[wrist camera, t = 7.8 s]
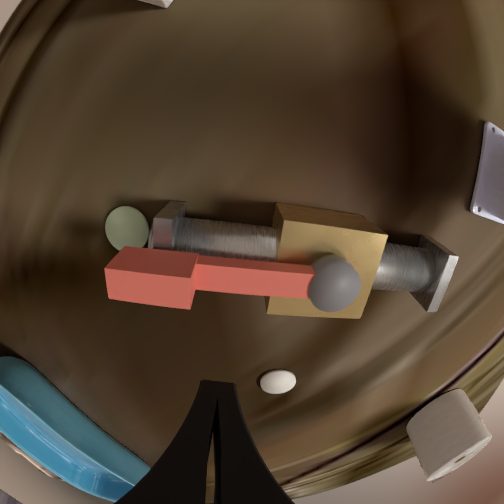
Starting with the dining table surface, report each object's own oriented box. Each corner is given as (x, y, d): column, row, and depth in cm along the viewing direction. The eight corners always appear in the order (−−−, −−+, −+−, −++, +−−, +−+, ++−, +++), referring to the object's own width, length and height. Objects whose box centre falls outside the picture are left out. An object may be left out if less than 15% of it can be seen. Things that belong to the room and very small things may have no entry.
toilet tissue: (464, 376, 27) (496, 427, 18) (463, 407, 31) (486, 448, 22) (400, 419, 29) (423, 475, 20) (411, 440, 33) (429, 485, 24)
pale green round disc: (149, 207, 17) (148, 209, 17) (149, 253, 18) (148, 255, 18) (106, 204, 17) (104, 205, 17) (108, 248, 18) (106, 250, 18)
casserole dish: (-35, 347, 24) (-56, 373, 17) (9, 311, 21) (-27, 352, 14) (104, 474, 38) (98, 501, 31) (191, 476, 34) (188, 511, 28)
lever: (359, 257, 15) (379, 281, 12) (345, 301, 16) (361, 329, 13) (124, 234, 14) (103, 255, 11) (128, 281, 15) (110, 308, 12)
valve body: (436, 230, 19) (465, 249, 15) (414, 292, 21) (437, 318, 17) (163, 190, 17) (144, 205, 13) (162, 270, 19) (146, 300, 16)
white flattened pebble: (299, 369, 23) (299, 372, 23) (290, 391, 25) (291, 393, 24) (263, 368, 23) (263, 371, 23) (257, 390, 24) (258, 393, 24)
